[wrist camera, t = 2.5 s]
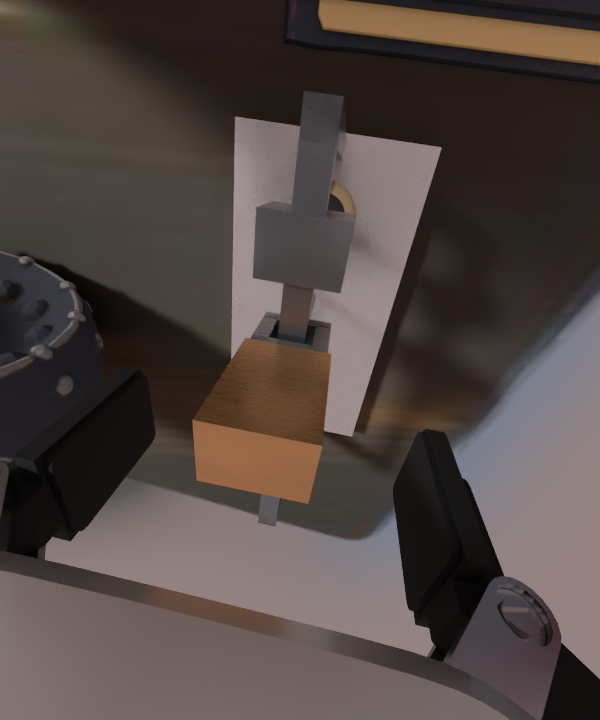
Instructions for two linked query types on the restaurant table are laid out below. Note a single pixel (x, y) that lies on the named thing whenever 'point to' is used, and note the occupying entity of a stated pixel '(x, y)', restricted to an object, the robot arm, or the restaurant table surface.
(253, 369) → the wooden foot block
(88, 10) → the restaurant table surface
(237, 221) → the switch panel
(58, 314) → the ring
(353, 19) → the dark grey flat slab
